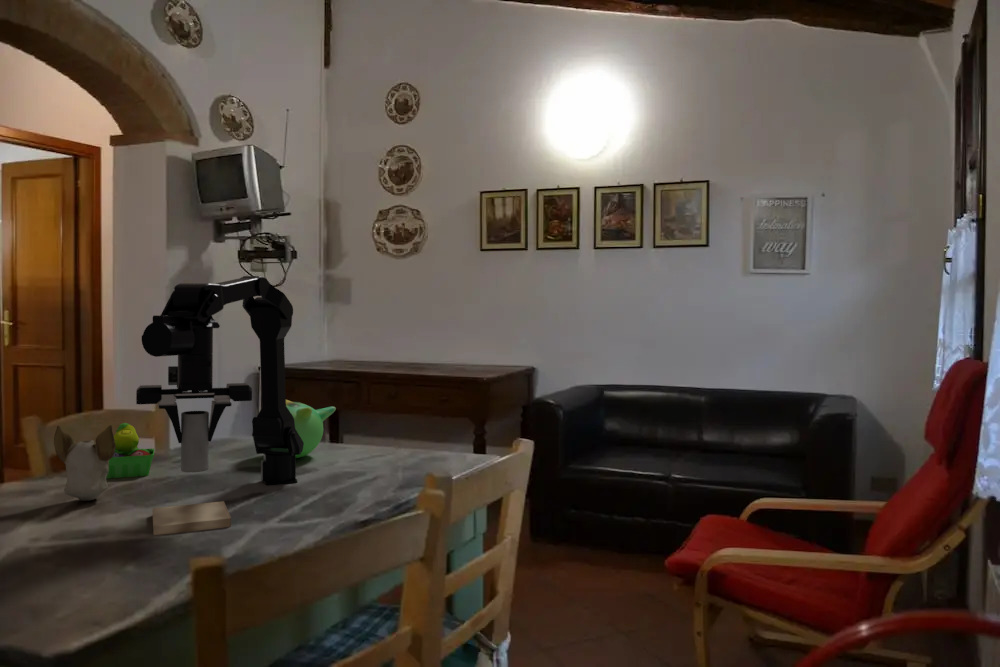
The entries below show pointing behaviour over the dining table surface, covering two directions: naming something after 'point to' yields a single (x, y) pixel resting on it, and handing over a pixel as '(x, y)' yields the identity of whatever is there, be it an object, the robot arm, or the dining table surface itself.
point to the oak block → (190, 518)
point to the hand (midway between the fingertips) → (194, 442)
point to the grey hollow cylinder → (194, 441)
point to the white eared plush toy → (85, 463)
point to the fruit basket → (129, 455)
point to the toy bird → (308, 424)
